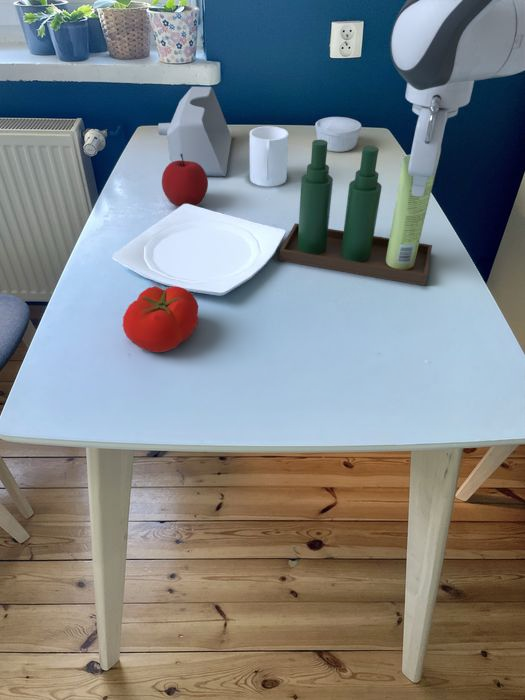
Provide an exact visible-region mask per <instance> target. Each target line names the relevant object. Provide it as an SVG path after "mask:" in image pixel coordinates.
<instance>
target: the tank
mask: <svg viewBox="0 0 525 700" xmlns="http://www.w3.org/2000/svg"><path fill="white" fill-rule="evenodd" d="M157 130H158V131H157V132H158V135H159V136H166V138H167V147H168V155H169V157H168V158H169V160H170V162H171V163H172V162H174V161H182V158H181V155H180V154H182V155H183V161H191V162H196V163H198V164H199V165H201V167H202V168H203V169H204V171H205V173H206V176H207V177H226V176H227V170H228V164H229V158H230V150H231V145H232V135H231V132H230V129H229V127H228V124H227V122H226V119H225V117H224V114H223V111H222V108H221V106H220V103H219V100H218V98H217V96H216V93H215V90H214V89H213V87H212V86H191V87H190V89H189V90H188V91H187V92H186V93H185V94H184V96H183V97H182V98H181V99H180V100H179V102H178V105H177V107H176V109H175V112H174V114H173V117H172V119H171V121H170V122H158V126H157Z"/></svg>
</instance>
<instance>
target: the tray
mask: <svg viewBox="0 0 525 700" xmlns="http://www.w3.org/2000/svg"><path fill="white" fill-rule="evenodd" d="M298 229H299V223H296V222H295V223H294V224H293V226H292V228H291V230H290V232H289V233H288V235H287V236H286V238H285V240H284V242H283V244H282V245H281V248H279V261H281V262H285V263H291V264H297V265H303V266H309V267H315V268H320V269H326V270H331V271H337V272H342V273H348V274H354V275H358V276H359V275H361V276H366V277H370V278H371V277H372V278H377V279H382V280H388V281H389V280H390V281H394V282H400V283H406V284H411V285H417V286H422V287H425V286H426V284H427V283H426V282H427V279H428V273H429V269H430V268H429V267H430V262H431V261H430V260H431V256H432V255H431V254H432V249H433V245H432V244H427V243H422V242H419V246H418V250H417V254H416V259H415V263H414V266H413V267H412V268H409V269H405V270H402V269H396V268H392V267H390V266H389V265H388V264H387V263H386V255H387V249H388V244H389V238H390V237H384V236H378V235H374V237H373V244H372V250H371V256H370V258H369V260H367V261H365V262H355V261H350V260H345V259H344V258H343V257H342V256H341V249H342V241H343V232H344V230H339V229H334V228H328V236H327V246H326V250H325V252H323V253H322V254H319V255H314V254H309V253H303V252H300V251H299V250H298V247H297V246H298Z"/></svg>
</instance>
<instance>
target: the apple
mask: <svg viewBox="0 0 525 700" xmlns="http://www.w3.org/2000/svg"><path fill="white" fill-rule="evenodd" d="M180 155H181V158H182V161H174V162H172V161H171V162H170V163H168V165H167V166H165V169H163V173H162V176H161V188H162V192H163V194H164V195H165V197H166V198H167V200H168V201H169V202H170V203H171V204H172V205H173V206H175V207H178V208H179V207H180V206H182V205H183V204H190V205H193V206H199V205H200V204H201V203H202V202H203V200H204V199H205V197H206V195H207V192H208V188H209V180H208V176H206V173H205V171H204V169H203V168H202V167H201V165H199V164H198V163H196V162H191V161H183V155H182V154H180Z"/></svg>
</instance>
